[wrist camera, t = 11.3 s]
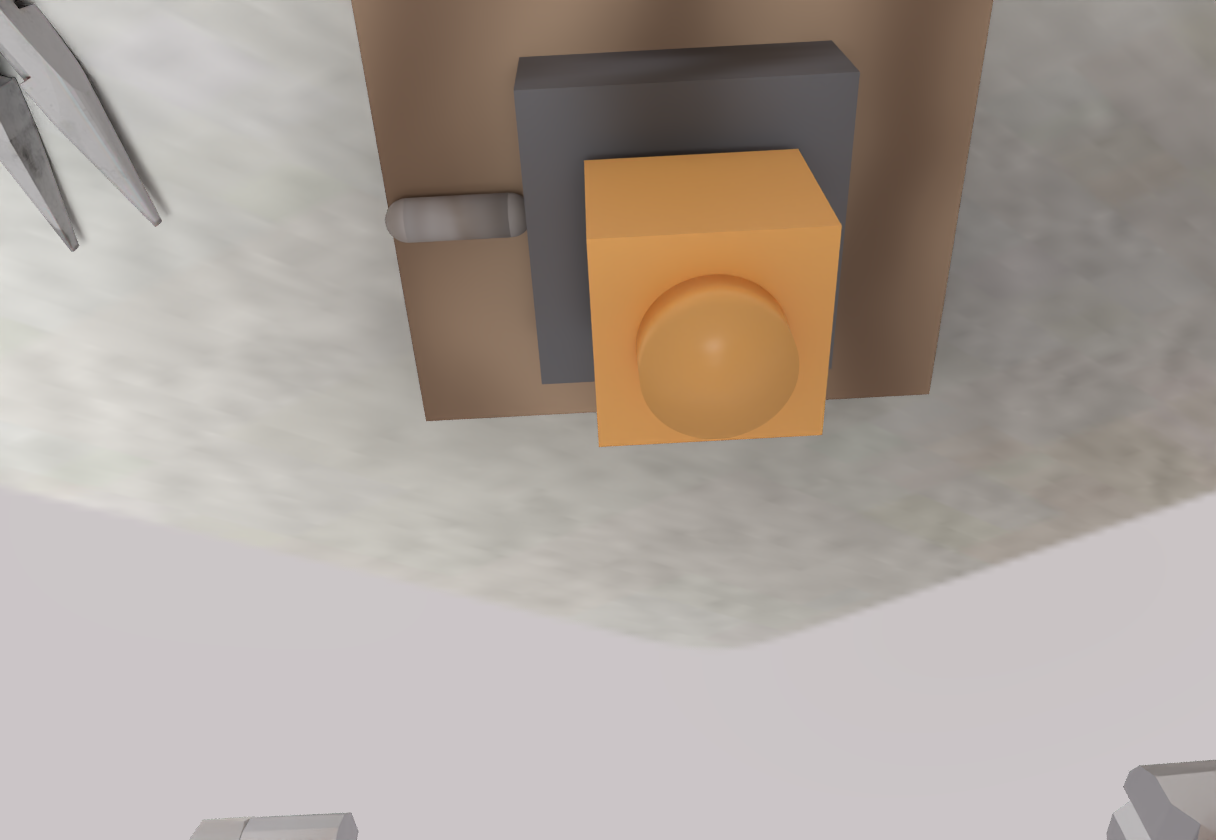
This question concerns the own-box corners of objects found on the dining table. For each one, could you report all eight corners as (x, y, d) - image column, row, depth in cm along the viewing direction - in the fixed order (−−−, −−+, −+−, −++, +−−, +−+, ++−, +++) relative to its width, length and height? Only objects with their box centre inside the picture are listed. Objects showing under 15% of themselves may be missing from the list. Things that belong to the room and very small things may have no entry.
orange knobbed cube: (798, 148, 23) (856, 251, 18) (785, 336, 26) (833, 467, 21) (584, 160, 23) (586, 265, 18) (594, 346, 26) (600, 479, 21)
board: (980, -110, 25) (1165, -47, 17) (911, 361, 33) (1016, 552, 25) (354, -76, 25) (257, 2, 17) (433, 387, 33) (390, 586, 25)
